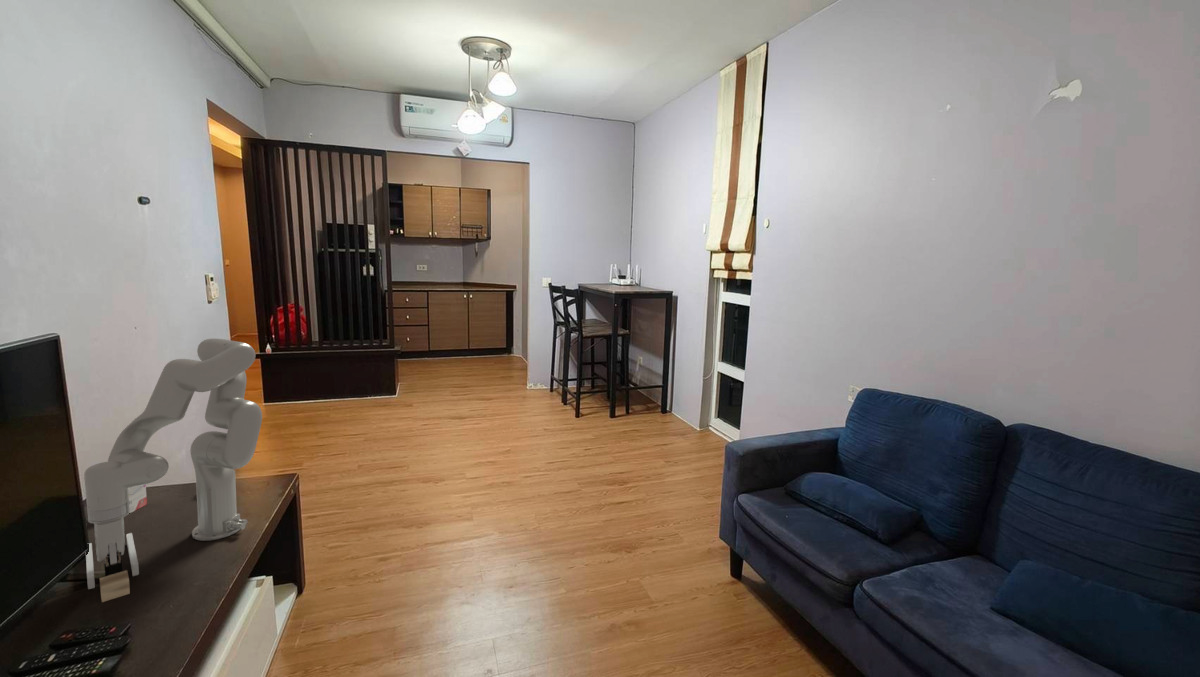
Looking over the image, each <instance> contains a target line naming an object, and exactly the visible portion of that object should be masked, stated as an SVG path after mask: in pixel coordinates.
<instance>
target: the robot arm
mask: <svg viewBox="0 0 1200 677" xmlns="http://www.w3.org/2000/svg"><path fill="white" fill-rule="evenodd" d="M196 350H197V351H196V352H197V356H198V358H199V360H196V359H190V358H179V359H178V358H175V359H172V360H171V361H169V362H167V363H166V364H165V366H164V367H163V369H162V371H161V373H160V376H159V377H158V380H157V383H156V385H155V387H154V388H153V391H152V393H151V396H150V398H149V399H148V402H147V405H146V407H145V409H144V410H143V412H141V413H140V414H139V415H138V416H137V417H136V418H134V419H133V420H132V421H131V422H130V423H129V424H128V425H126V427H125V428H123V430H122V431H121V432H120V434H118V437H117V438H116V440H115V443H114V444H113V446H112V448H111V450H110V453H109V455H108V459H107V461H104V462H103V461H102V462H100V463H99V462H98V463H96V464H94V465H93V464H92V465H91V466H89V467H87V468H86V469H85V470H84V475H83V476H84V477H83V478H84V489H85V490H84V491H85V499H86V501H85V502H86V511H87V521H88V523H90V524H93V527H94V528H93V530H94V541H95V542H94V543H95V544H94V545H95V551H96V552H95V553H96V560H97V562H102V561H105V562H104V564H103V566H104V577H105V576H109V575H112V574H116V573H119V572H123V571H124V570H123V568H124V567H123V560H122V557H121V556H123V555H124V554H125V544H126V542H125V539H126V538H125V537H126V536H125V535H126V534H125V521H124V518H125V517H126V516H128V515H130V514H131V513H130V510H129V497H128V488H129V487H133V486H138V485H143V484H146V485H148V484H151V483H154V482H157V481H159V480H161V478H163V477H164V476H165V475H166V474H167V473H168V470H169V468H170V467H169V462H168V461H167V459H166V458H165V457H163V456H162V455H159V454H154V453H150V452H146V451H145V448H146V446H147V444H148V442H149V441H150V439H151V438H152V436H153V435H154V434H155V433H157V432H158V431H159V430H161V429H162V428H164V427H167V426H169V425H171V424H174V423H177V422H179V421H181V420H183V418H184V417H185V416H186V413H187V411H188V407H189V405H190V403H191V401H192V398H193V395H194V394H195V392H198V393H206V392H210V393H209V397H208V401H207V404H206V408H205V413H204V414H205V415H204V421H206V423H207V424H208V425H210V426H213V427H215V428H219V429H223V430H227V432H223V431H215V430H212V431H211V430H210V431H205V432H203V433H201V434H199V435H198V436H196V437H195V438H194V439H193V441H192V443H191V446H190V452H189V453H190V458H191V461H192V464H193V469H194V473H195V474H194V475H195V485H196V487H195V488H196V489H195V490H196V507H197V511H196V512H197V525H196V526H195V527H194V528H193V529H192V531H191V537H192V539H195V540H197V541H203V542H206V541H216V540H221V539H223V538H228V537H230V536H232V535H234V534H236V533H238V532H239V531H242V530H243V531H244V529H246V525H247V523H248V520H247V519H245V518H244V519H242V518H241V513H237V512H238V510H237V489H236V488H237V486H236V483H237V482H236V480H237V479H236V471H235V469H241V468H243V467H244V466H246V465H247V464H249V463H250V462H251V460H252V459H253V456H254V454H255V452H256V448H257V443H258V439H259V435H260V432H261V428H262V427H261V426H262V422H263V411H262V409H261V407H260V406H259V404H258V403H256V402H254V401H252V400H248V399H245V393H246V387H247V381H248V380H247V379H248V378H247V374H246V371H247V370H249V368H250V367H251V366H252V365H253V364H254V362H255V360H256V351H255V349H254V348H253V347H252V345H250V344H248V343H246V342H242V341H236V340H230V339H223V338H207V339H204V340H202V341H201V342H200V343H199V344H198V345H197V349H196ZM129 513H130V514H129Z"/></svg>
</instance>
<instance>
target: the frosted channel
mask: <svg viewBox="0 0 1200 677" xmlns="http://www.w3.org/2000/svg"><path fill="white" fill-rule="evenodd" d="M125 535H126V536H125V537H126V538H125V539H126V546H127V552H128V557H129V563H130V568H131V572H132V573H131V574H132V577H135V576H138V575H139V574H140V570H139V569H140V568H139V560H138V556H137V551H136V546H135V542H134V536H133V533H132V532H129V533H126V534H125ZM88 544H89V552H88V554H87V555H86V554H85V561H86V563H85V564H86V580H87V589H88V590H91V589H95V587H96V586H95V585H96V583H95V570H94V557H93V556H94V554H93V543H92V542H89V543H88ZM139 576H140V575H139Z"/></svg>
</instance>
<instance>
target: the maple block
mask: <svg viewBox="0 0 1200 677" xmlns="http://www.w3.org/2000/svg"><path fill="white" fill-rule="evenodd" d="M99 589H100V590H99V592H100V599H101V603H104V602H108V601H110V600H114V599H117V598H121V597H123V596H126V595H130V593H131V591H130V590H131V588H130V578H129V572H128V570H123V572H119V573H116V574H112V575H109V576H105V575H104V576H103V577H99Z"/></svg>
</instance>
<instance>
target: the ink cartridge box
mask: <svg viewBox="0 0 1200 677" xmlns="http://www.w3.org/2000/svg"><path fill="white" fill-rule="evenodd" d="M146 486H147V484H143V485H138V486H133V487H129V488H128V497H129V510H130V514H132V513H134V512H135V511H137V510H139V509H141V508H143V507H145V506H147V505H148V497H147V487H146Z"/></svg>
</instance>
